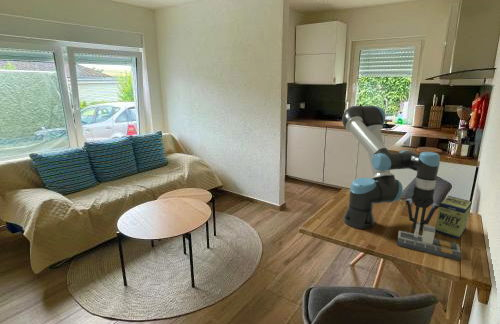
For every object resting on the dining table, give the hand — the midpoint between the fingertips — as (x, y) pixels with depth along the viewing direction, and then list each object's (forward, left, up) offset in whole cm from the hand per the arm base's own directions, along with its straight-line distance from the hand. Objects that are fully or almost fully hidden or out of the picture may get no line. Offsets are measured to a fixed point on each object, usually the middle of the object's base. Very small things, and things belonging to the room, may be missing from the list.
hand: (416, 236), depth 135 cm
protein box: (+16, +23, -4) cm, 29 cm away
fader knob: (+5, 0, -2) cm, 5 cm away
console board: (+5, 0, -4) cm, 6 cm away
